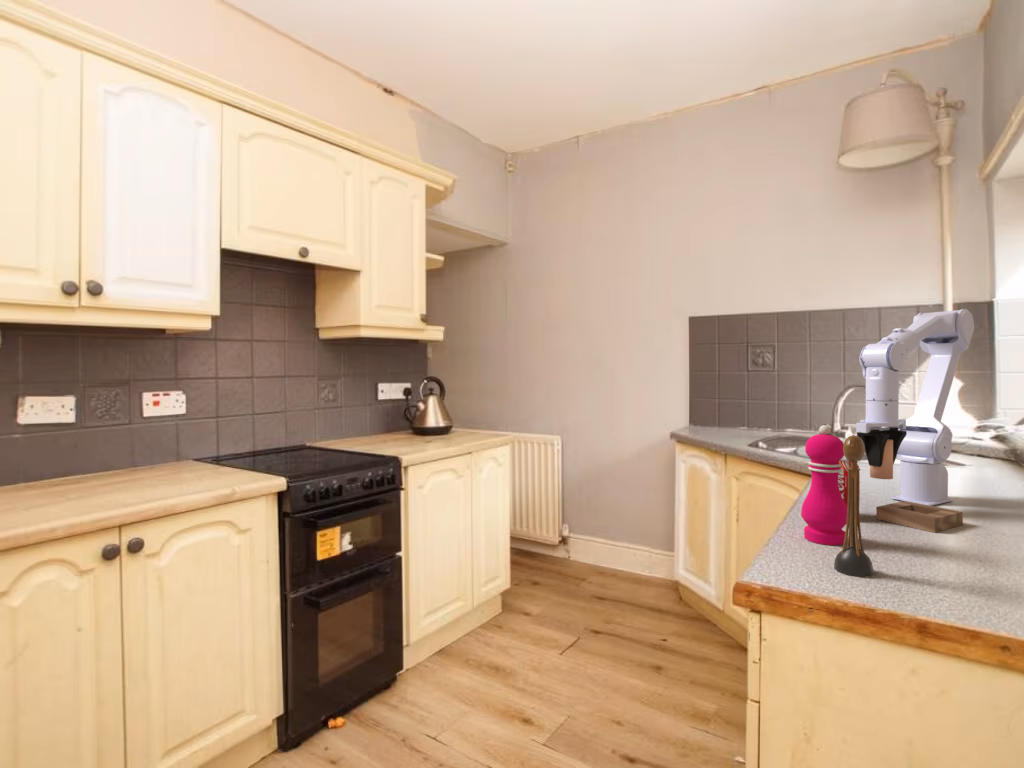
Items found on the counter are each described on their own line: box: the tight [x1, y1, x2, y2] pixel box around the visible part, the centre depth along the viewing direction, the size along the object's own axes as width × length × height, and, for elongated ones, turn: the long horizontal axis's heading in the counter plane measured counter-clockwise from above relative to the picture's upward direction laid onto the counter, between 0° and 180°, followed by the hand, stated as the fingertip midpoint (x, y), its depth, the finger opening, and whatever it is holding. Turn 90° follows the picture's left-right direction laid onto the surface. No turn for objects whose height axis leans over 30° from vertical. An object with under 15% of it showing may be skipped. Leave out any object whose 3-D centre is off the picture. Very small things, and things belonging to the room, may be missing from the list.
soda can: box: [838, 456, 861, 509], centre depth 110 cm, size 7×7×12 cm
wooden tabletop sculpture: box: [833, 435, 874, 578], centre depth 81 cm, size 6×5×20 cm
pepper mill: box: [800, 424, 848, 546], centre depth 95 cm, size 7×7×20 cm
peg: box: [869, 439, 894, 480], centre depth 115 cm, size 4×4×8 cm
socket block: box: [875, 501, 964, 533], centre depth 105 cm, size 10×10×2 cm
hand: (881, 465), depth 115 cm, fingers closed on peg, 4 cm apart
